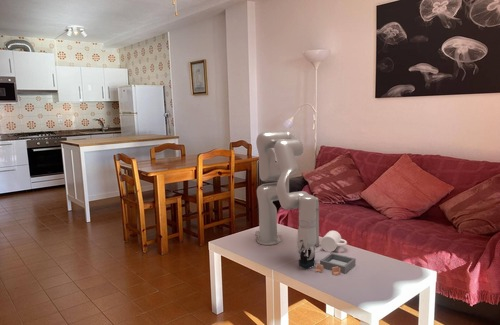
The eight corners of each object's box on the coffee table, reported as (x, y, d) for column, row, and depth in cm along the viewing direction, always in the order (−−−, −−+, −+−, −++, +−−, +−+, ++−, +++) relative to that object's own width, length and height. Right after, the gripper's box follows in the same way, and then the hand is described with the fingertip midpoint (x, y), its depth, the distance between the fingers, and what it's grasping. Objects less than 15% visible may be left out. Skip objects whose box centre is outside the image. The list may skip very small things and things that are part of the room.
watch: (304, 261, 177) (303, 239, 176) (317, 267, 171) (317, 243, 170) (295, 265, 174) (295, 242, 172) (309, 270, 168) (309, 246, 166)
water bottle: (321, 244, 199) (321, 197, 195) (315, 248, 193) (315, 200, 189) (305, 241, 204) (305, 195, 200) (298, 245, 198) (298, 198, 194)
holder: (320, 266, 171) (320, 260, 171) (331, 258, 180) (331, 252, 179) (345, 273, 164) (345, 267, 163) (355, 264, 172) (355, 258, 172)
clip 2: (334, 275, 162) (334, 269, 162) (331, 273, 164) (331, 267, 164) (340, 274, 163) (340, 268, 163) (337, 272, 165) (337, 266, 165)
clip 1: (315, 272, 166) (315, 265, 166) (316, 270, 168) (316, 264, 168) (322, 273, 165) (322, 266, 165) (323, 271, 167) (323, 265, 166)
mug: (320, 250, 190) (320, 235, 189) (326, 244, 199) (326, 229, 198) (344, 254, 185) (344, 238, 184) (349, 247, 194) (349, 232, 192)
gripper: (309, 216, 178) (309, 253, 181) (289, 226, 165) (290, 265, 168) (324, 219, 174) (323, 256, 176) (305, 229, 160) (305, 269, 163)
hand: (307, 260), depth 172 cm, fingers open, 6 cm apart
